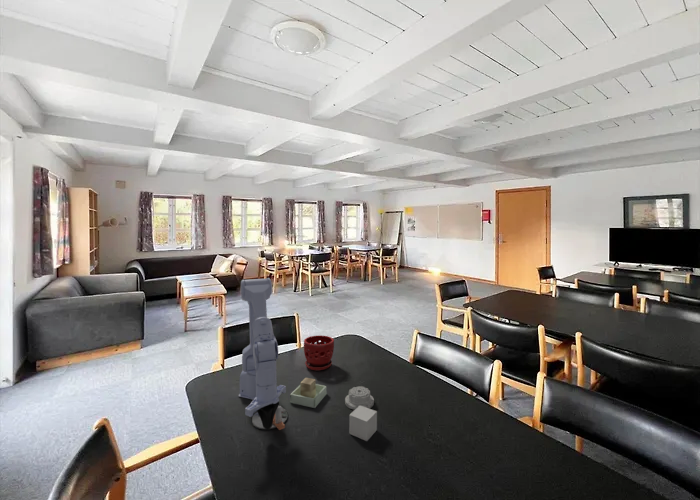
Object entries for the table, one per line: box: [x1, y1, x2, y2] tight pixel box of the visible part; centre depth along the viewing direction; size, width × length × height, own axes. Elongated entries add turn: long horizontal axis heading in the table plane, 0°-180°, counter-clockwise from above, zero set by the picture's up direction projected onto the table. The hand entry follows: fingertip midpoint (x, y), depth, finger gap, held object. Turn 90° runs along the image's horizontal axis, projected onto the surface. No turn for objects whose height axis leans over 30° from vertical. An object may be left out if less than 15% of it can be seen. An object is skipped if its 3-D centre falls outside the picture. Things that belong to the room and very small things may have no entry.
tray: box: [289, 383, 328, 409], centre depth 114 cm, size 10×10×3 cm
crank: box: [273, 405, 286, 431], centre depth 99 cm, size 11×4×6 cm, turn 37°
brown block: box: [299, 377, 317, 398], centre depth 113 cm, size 4×4×6 cm
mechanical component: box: [344, 385, 375, 411], centre depth 111 cm, size 10×4×10 cm
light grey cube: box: [348, 405, 378, 442], centre depth 95 cm, size 6×6×6 cm
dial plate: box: [251, 407, 289, 431], centre depth 102 cm, size 11×11×1 cm
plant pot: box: [303, 335, 335, 371], centre depth 140 cm, size 13×13×12 cm
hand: (267, 427), depth 92 cm, fingers closed
